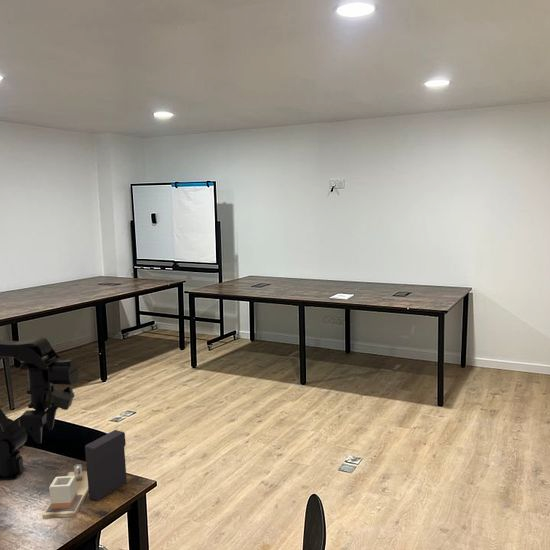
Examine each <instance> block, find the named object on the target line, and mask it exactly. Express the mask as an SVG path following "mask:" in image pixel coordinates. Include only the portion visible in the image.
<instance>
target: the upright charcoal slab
mask: <svg viewBox="0 0 550 550" xmlns="http://www.w3.org/2000/svg"><path fill="white" fill-rule="evenodd" d="M126 444H127V443H126V432H125V431H121V430H117V429H114V430H112V431H110V432H109V433H107V434H105V435H103V436H101V437H99V438H97V439H95V440H93V441H92V442H89V443H87V444H85V446H84V453H85V454H84V455H85V463H86V464H85V465H86V466H85V467H86V471H87V478H88V490H89V492H88V498H89V499H91V500H93V501H100V500H101V499H103V498H105V497H106V496H107V495H109V494H110V493H112V492H113V491H115V490H116V489H118V488H119V487H122V486H123V485H125V484H126V483H127V480H128V479H127V467H126V455H125V454H126V452H125V447H126Z"/></svg>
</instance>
